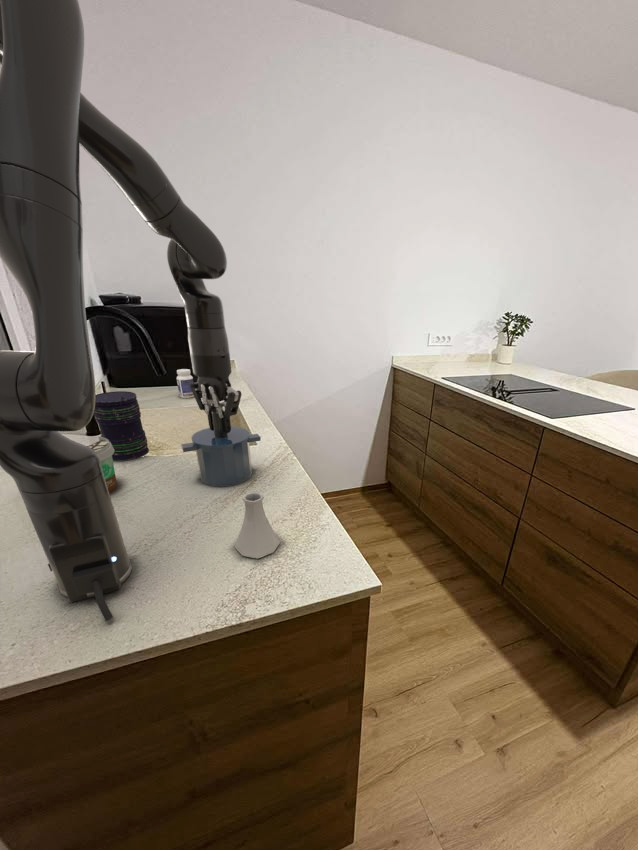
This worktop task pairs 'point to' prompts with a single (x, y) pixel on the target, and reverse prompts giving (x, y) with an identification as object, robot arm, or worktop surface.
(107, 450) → the food container
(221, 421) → the robot arm
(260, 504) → the flask
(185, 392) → the pill bottle
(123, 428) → the storage jar
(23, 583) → the worktop surface
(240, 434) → the pot lid
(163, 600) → the worktop surface
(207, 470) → the two-handled cooking pot
